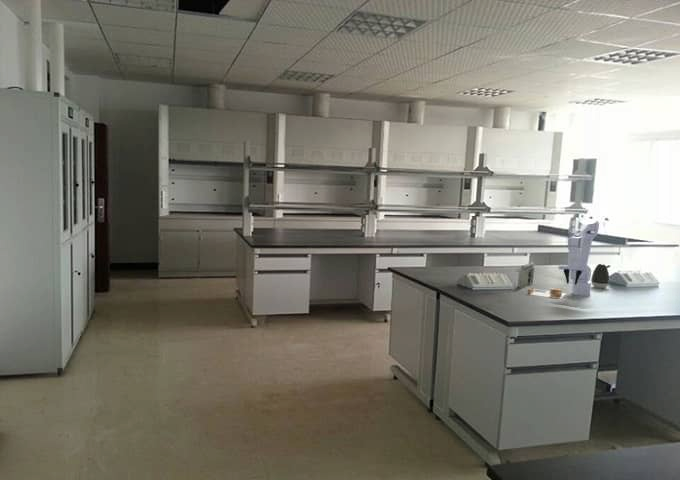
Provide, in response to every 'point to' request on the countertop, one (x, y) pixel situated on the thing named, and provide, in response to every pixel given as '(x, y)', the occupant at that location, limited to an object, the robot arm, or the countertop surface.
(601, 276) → the potted cactus
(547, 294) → the trap board
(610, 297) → the countertop surface
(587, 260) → the robot arm
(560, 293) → the block
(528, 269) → the geiger counter
